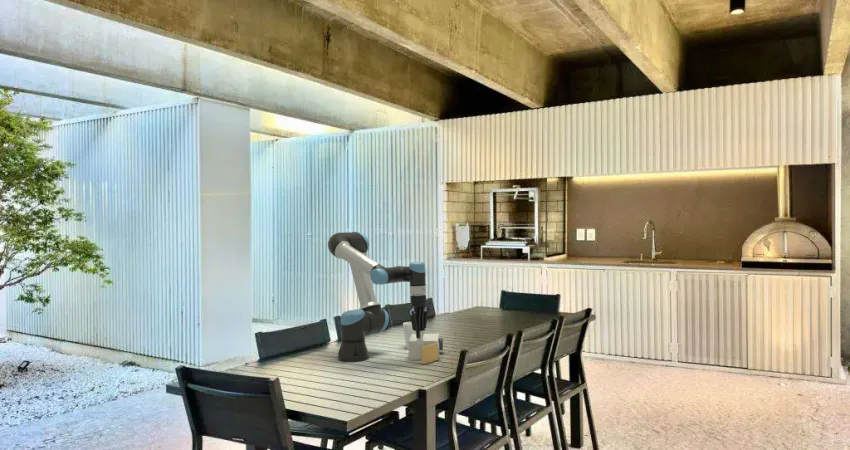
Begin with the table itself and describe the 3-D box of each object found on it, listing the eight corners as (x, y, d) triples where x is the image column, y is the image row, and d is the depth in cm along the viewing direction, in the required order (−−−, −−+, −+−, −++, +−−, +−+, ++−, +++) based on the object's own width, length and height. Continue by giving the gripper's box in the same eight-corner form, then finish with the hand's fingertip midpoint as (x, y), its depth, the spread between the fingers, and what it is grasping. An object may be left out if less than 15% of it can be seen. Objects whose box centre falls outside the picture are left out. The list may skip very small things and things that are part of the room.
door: (440, 359, 288) (439, 342, 288) (423, 364, 278) (423, 347, 278) (437, 359, 289) (437, 342, 289) (421, 364, 279) (421, 346, 279)
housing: (442, 359, 289) (441, 339, 289) (409, 359, 290) (408, 339, 290) (443, 351, 309) (442, 332, 309) (412, 351, 310) (411, 332, 310)
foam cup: (422, 345, 324) (421, 321, 324) (420, 349, 315) (419, 324, 315) (404, 345, 325) (404, 321, 325) (402, 349, 315) (401, 324, 316)
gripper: (415, 296, 277) (417, 347, 277) (432, 293, 287) (434, 343, 287) (403, 295, 282) (405, 346, 281) (420, 293, 292) (422, 341, 292)
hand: (420, 344), depth 284 cm, fingers closed
